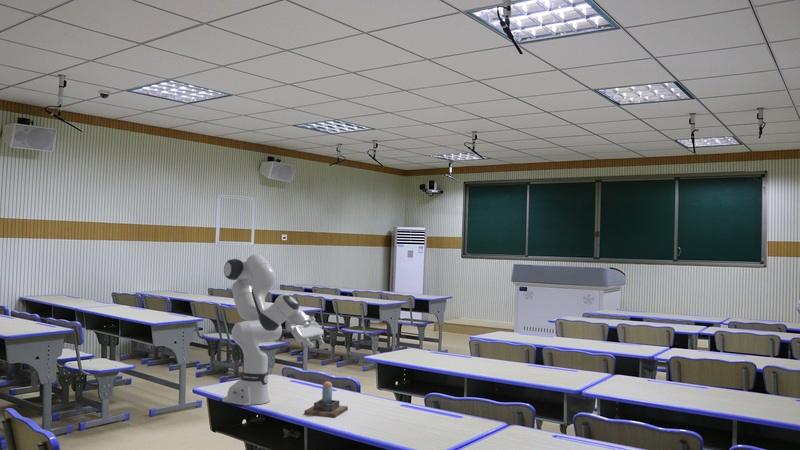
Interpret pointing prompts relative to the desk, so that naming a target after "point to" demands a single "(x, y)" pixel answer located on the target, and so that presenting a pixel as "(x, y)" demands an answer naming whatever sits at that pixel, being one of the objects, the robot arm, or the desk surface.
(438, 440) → the desk surface
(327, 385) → the peach-tipped grey cylinder
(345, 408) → the jig
